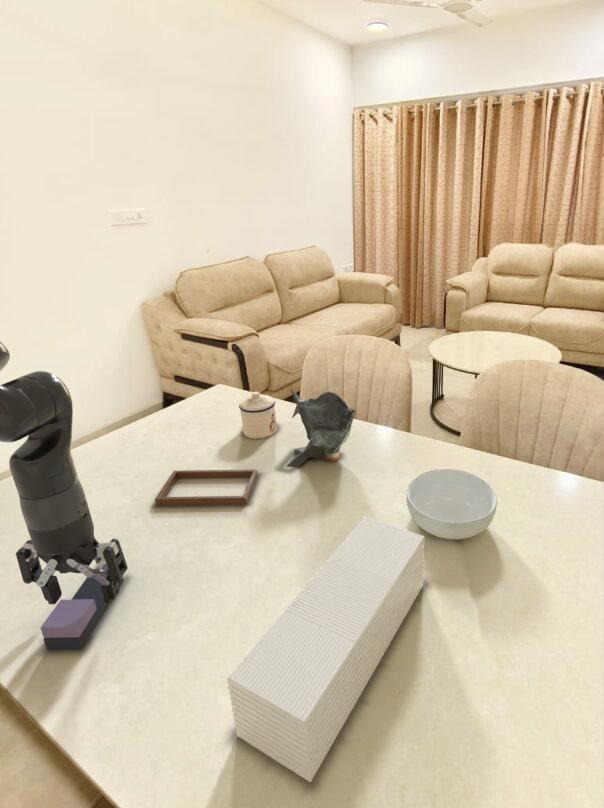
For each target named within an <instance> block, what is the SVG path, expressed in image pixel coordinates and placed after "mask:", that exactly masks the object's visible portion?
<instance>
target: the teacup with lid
mask: <svg viewBox="0 0 604 808" xmlns="http://www.w3.org/2000/svg"><path fill="white" fill-rule="evenodd" d="M238 407H239V411H240V418H241V425H242V433H243V435H244V436H245V437H247V438H249V439H264V438H267V437H270V436H273V435H274V434H275V433H276V432H277V429H278V428H277V427H278V426H277V420H276V419H277V418H276V417H277V416H276V409H275V407H276V401H275V399H274V398H273V397H272V396H270V395H267V394H261V392H259V391H253V392H252V393H251V395H249V396H247V397H244V398H243V399H242V400H241V401H240V402H239V405H238Z"/></svg>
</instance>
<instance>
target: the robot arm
mask: <svg viewBox="0 0 604 808" xmlns="http://www.w3.org/2000/svg"><path fill="white" fill-rule="evenodd" d="M10 358H11V356H10V352H9V349H8V348H7V346H6V345H5V344H4V343H3V342H2V341H1V340H0V372H1V371H3V369H5V367H6V366H7V364H8V363H9V361H10ZM73 414H74V407H73V399H72V396H71V393H70V391H69V388H68V386H67V385H66V383H65V382H64V381H63V380H62V379H61V378H60V377H58V376H57V375H56V374H54V373H52V372H50V371H46V370H37V371H32V372H29V373H27V374H24V375H22V376H20V377H17V378H14V379H12V380H9V381H7V382H5V383H2V384H0V442H1V443H7V444H8V443H14V442H18V441H20V440H22V439H24V438H26V440H25V441H24V442H23V443H22V444H21V445H20V446H19V447H18V448H16V450H15V451H14V452H13V453H12V454H11V456H10V457H9V462H8V466H9V471H10V474H11V476H12V479H13V482H14V485H15V488H16V492H17V494H18V498H19V505H20V510H21V515H22V516H23V520H24V522H25V525H26V528H27V532H28V534H29V535H28V536H29V537H30V539H28V540H26V542H24V543H23V544H22V546H21V547H20V548H19V549H18V550H17V551H16V552H15V557H16V561H17V563H18V568H19V570H20V574H21V578H22V581H23V583H25V584H27V585H29V584H31V583H35V584H36V585H37V586H38V587H40V589H41V593H42V595H43V598H44V600H45V601H46V602H47V603H48V605H57V603H58V602H59V601H60V598H61V597H62V595H63V592H62V589H61V586H60V582H59V579H58V576H57V575H55V573H56V572H59V574H68V573H73V574H82V575H84V576H85V577H86V578H87V577H88V578H89V579H91V578H94V579H95V580H97V581H98V582H99V583H101V584H102V585H101V589H102V593H103V596H104V600H105V603H106V604H109V605H111V604H113V602H114V601H115V599H116V598H117V596H118V595H119V593H120V588H119V587H118V583H117V582H119V581H120V580H121V578H122V576H124V574H125V573H126V572H127V571H128V568H129V567H128V564H127V560H126V558H125V555H124V552H123V549H122V546H121V543H120V540H119V539H117V538H112V539H111V540H110V541H109V542H106V543H105V542H103V543H102V542H101V543H100V542H99V541H98V540H97V539H96V537H95V525H94V522H93V517H92V515H91V510H90V507H89V504H88V500H87V497H86V493H85V490H84V487H83V484H82V482H81V481H80V478H79V476H78V471H77V468H76V465H75V464H76V463H75V461H74V458H73V455H72V439H73V419H74V418H73V416H74V415H73ZM40 560H42V561H43V562H45V564H46V565H45V567H44V568H43V569H42V564H41V562H40ZM93 561H95V564H94V566H93V567H91V566H90V565H91V564H92V563H93ZM101 571H104V572H106V574H105V575H104V574H103V573H102V572H101Z"/></svg>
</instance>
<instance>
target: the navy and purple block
mask: <svg viewBox="0 0 604 808" xmlns="http://www.w3.org/2000/svg"><path fill="white" fill-rule="evenodd" d="M100 571H101V572H102V573H103V574H104V575H105V574H106V572H104V571H103V570H100ZM123 576H124V575H123ZM123 576H122V578H121V580H120V581H119V582H117V583H118V587H119V589H120V588H121V586H122V585H123V583H124V581H125V580H124V577H123ZM101 585H102V584H101V583H99V582H98V581H97V580H95V579H94V578H91V579H89V578H88V577H86V578H85V580H84V581H83V582H82V583H81V585H80V587H79V588H78V590H77V591H76V592H75V593H74V595H73V597H72V598H71V599H59V601H58V602H57V603H56V606H55V607H54V608H53V609H52V611H51V613H49V615H48V616H47V618H46V619H45V620H44V622H43V623H42V624H41V626H40V631H41V633H42V636H43V639H42V640H43V644H44V647H45V649H46V651H82V650H83V649H84V647H85V645H86V643H87V642H88V641H89V639H90V637H91V636H92V634H93V633H94V630H95V629H96V627H97V626H98V624H99V622H100V621H101V619H102V618H103V615H105V612H106V611H107V610H108V608H109V606H110V604H106V603H105V600H104V596H103V593H102V589H101Z"/></svg>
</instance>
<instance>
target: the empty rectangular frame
mask: <svg viewBox="0 0 604 808" xmlns="http://www.w3.org/2000/svg"><path fill="white" fill-rule="evenodd" d="M258 477H259V475H258V469H198V470H197V469H195V470H194V469H193V470H189V469H188V470H173V471H172V473H171V474H170V475H169V477H168V479H167V481H166V482H165V483H164V485H163V486H162V488H161V489H160V491H159V492H158V494H157V495H156V497H155V498H154V502H155V506H156V507H167V506H168V507H179V506H186V507H187V506H188V507H190V506H242V505H243V506H246V505H248V504H249V500H250V498H251V495H252V492H253V490H254V488H255V485H256V483H257V482H256V481H257V479H258ZM240 478H241V479H245V478H246V479H249V480H248V483H247V485H246V488H245V490H244V492H243V495H212V496H211V495H206V496H201V495H200V496H168V494H169V493H170V492H171V489H172V488H173V486H174V485H175V484H176V482H177V480H181V479H182V480H184V479H187V480H188V479H191V480H192V479H240Z"/></svg>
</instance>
